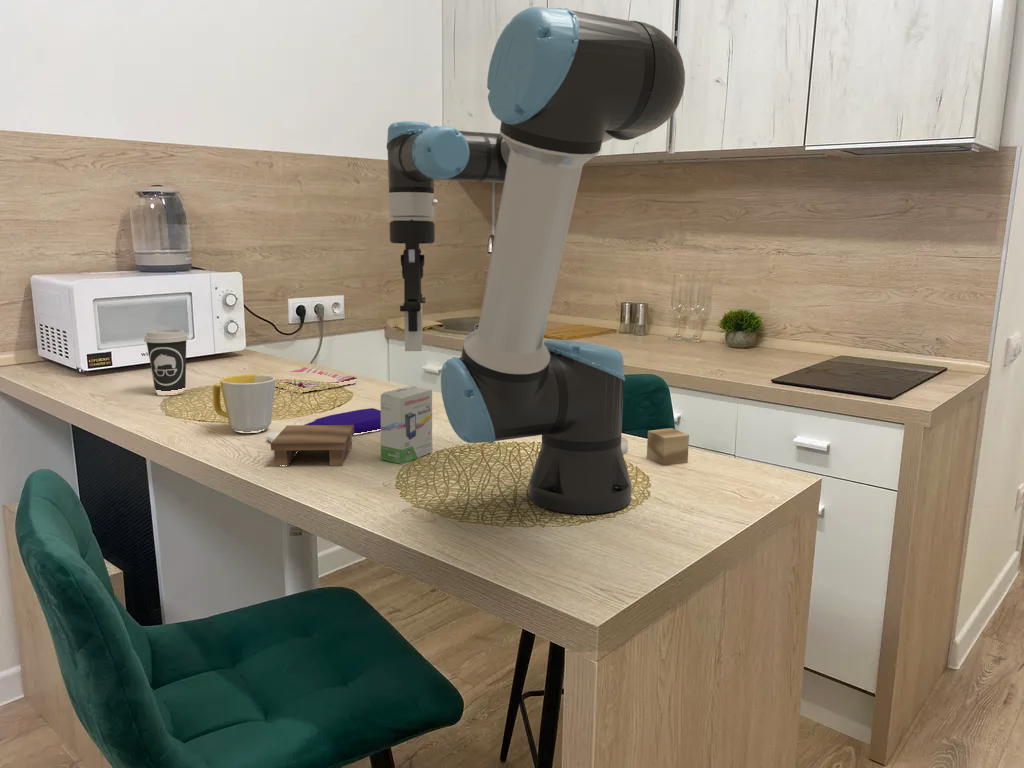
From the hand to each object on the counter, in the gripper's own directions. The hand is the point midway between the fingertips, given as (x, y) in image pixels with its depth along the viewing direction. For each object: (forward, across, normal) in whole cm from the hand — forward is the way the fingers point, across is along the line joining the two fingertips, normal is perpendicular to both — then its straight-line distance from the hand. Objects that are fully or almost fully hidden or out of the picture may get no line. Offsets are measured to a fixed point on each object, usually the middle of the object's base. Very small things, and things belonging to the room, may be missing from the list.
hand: (414, 345), depth 133 cm
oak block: (+19, -8, -43) cm, 48 cm away
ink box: (+20, -2, +2) cm, 20 cm away
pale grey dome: (+20, -1, -34) cm, 39 cm away
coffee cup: (+19, +55, +60) cm, 83 cm away
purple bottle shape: (+20, +15, +17) cm, 30 cm away
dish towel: (+20, +66, +30) cm, 75 cm away
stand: (+19, -1, +18) cm, 26 cm away
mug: (+19, +19, +34) cm, 43 cm away
